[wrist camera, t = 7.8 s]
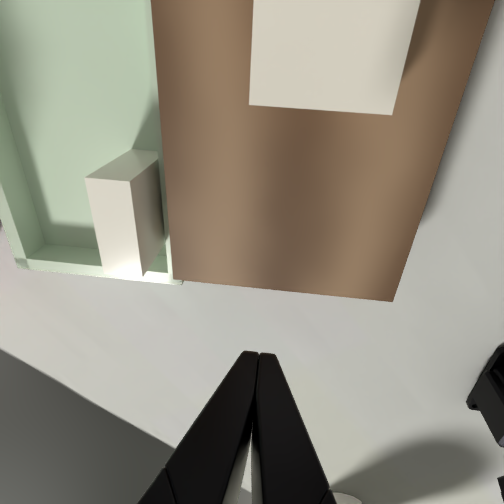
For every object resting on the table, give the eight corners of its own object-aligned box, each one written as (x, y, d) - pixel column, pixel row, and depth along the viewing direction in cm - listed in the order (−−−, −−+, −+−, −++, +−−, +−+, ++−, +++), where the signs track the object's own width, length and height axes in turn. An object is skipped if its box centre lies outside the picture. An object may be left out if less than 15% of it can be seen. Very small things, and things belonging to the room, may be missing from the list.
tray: (174, -143, 13) (151, -180, 11) (192, 263, 23) (181, 285, 21) (-79, -150, 14) (-146, -187, 12) (42, 248, 24) (18, 268, 22)
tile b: (417, -60, 11) (440, -81, 9) (379, 107, 14) (392, 115, 12) (262, -67, 11) (257, -88, 10) (254, 98, 14) (248, 104, 12)
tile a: (129, 181, 14) (84, 177, 15) (142, 277, 17) (103, 273, 17) (166, 151, 19) (131, 148, 19) (172, 232, 21) (141, 229, 21)
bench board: (473, -79, 13) (536, -124, 10) (376, 262, 22) (392, 302, 18) (176, -90, 14) (139, -136, 11) (191, 244, 22) (173, 279, 19)
